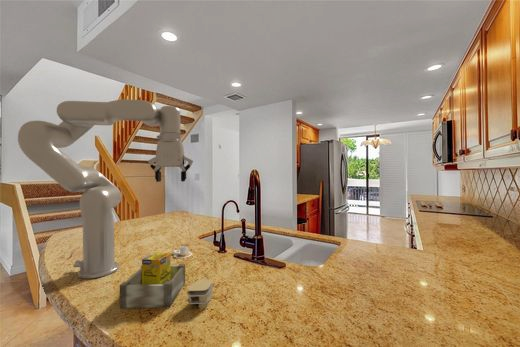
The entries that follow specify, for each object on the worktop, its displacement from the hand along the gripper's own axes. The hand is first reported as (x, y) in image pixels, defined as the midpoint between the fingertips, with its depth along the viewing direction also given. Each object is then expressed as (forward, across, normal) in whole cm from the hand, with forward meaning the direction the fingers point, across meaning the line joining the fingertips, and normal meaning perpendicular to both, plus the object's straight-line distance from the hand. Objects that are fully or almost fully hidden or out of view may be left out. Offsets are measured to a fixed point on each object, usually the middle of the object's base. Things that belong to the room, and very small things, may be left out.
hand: (170, 181), depth 90 cm
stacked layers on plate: (+34, +18, -27) cm, 47 cm away
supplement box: (+33, +3, -22) cm, 40 cm away
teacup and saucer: (+34, +1, +14) cm, 37 cm away
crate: (+33, +3, -22) cm, 40 cm away
